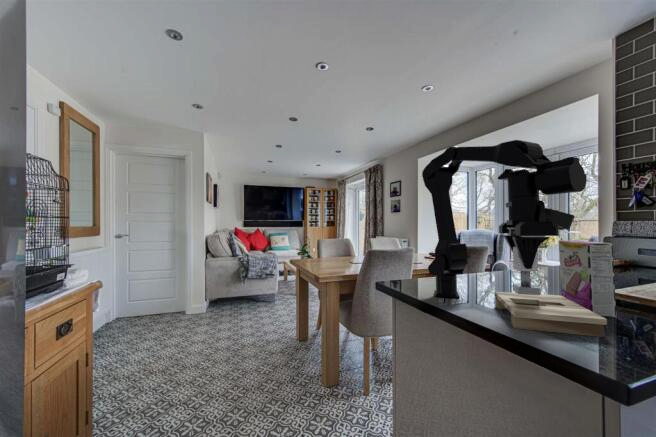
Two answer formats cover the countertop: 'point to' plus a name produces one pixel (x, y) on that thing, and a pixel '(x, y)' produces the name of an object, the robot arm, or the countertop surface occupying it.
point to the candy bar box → (588, 275)
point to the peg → (525, 275)
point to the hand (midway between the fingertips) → (525, 267)
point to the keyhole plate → (550, 314)
